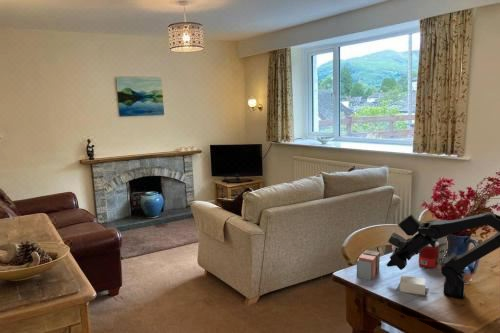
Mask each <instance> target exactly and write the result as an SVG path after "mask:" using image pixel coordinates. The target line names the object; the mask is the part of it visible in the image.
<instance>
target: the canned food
mask: <svg viewBox="0 0 500 333" xmlns="http://www.w3.org/2000/svg"><path fill="white" fill-rule="evenodd" d="M438 258H439V243H438V242H437V241H436V246H435V248H433V247H432V246H431V245H430V244H429V245H428V246H426V247H425V248H424V249H422V250H421V251H420V252H419V253H418V265H419V266H420V267H421V268H422V269H423V268H424V269H428V270H434V269H437V268H438V266H439V259H438Z"/></svg>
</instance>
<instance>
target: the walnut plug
mask: <svg viewBox="0 0 500 333" xmlns="http://www.w3.org/2000/svg"><path fill="white" fill-rule="evenodd" d="M364 251H365V252H364ZM364 251H363V252H362V254H365V255H370V256H376V273H375V275H378V274H379V273H380V260H381V259H380V258H381V257H380V255H381V254H380V252H379V251H374V250H368V249H365V250H364Z"/></svg>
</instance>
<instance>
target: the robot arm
mask: <svg viewBox="0 0 500 333" xmlns="http://www.w3.org/2000/svg"><path fill="white" fill-rule="evenodd" d="M434 220H435V221H432V222H431V223H425V222H419V220H417V219H416V218H415V216H414V215H413V214H412V213H411V214H410V215H407V216H406V217H403V219H402V220H400V221H399V222H398V223H397V224H396V225H397V226H398V227H399V228H400V229H401V231H402V232H403V233H405V235H406V236H409V237H410V238H409V237H408V238H407V239H406V238H404V237H403V236H401V235H400V234H398V233H396V232H392V234H391V235H390V237H389V238H388V241H387V242H388V243H389V244H391V245H393V246H394V247H395V249H394V251H393V252H392V254H391V255H390V257H389V259H390V260H388V262H387V263H386V264H385V265H386V267H388V268H391V267H395V266H396V267H397V268H398V269H399V270H400V271H402V270H403V269H405V268H406V267H407V264H408V261H410V260H411V259H412V258H413V257H414V256H415V255H419V252H420V251H421V250H422V249H424V248H425V247H426V246H428V245H429V244H430V245H431V246H432V247H433V248H435V246H436V240H437V239H440V238H442V237H445V236H447V235H448V236H449V235H450V234H453V233H456V232H459V231H460V232H461V231H467V230H471V229H475V228H481V227H485V226H489V227H491V228H492V229H494V230H495V231H497V232H496V233H495V234H494V235H492V236H491V237H488V238H487V239H485V240H484V241H482V242H481V243H479V244H476V246H474V247H472V248H470V249H469V250H467V251H465V252H464V253H461V254H459V255H456V253H455V252H453V253H451V255H449V256H447V257H445V258H444V260H443V263H442V265H441V267H440V268H441V269H440V272H441V274H442V276H443V277H444V278H445V280H444V281H443V295H444V297H448V298H453V299H458V300H461V301H463V300H464V299H465V295H466V292H465V288H466V287H465V286H466V280H465V276H466V271H464V270H465V269H466V268H467V267H468V266H470V265H471V264H473V263H475V262H477V261H478V260H481V259H482V258H483V257H485V256H487V255H488V254H490V253H492V252H494V251H496V250H498V249H499V248H500V215H499V214H496V213H494V212H493V211H492V212H491V211H487V212H484V213H480V214H475V215H470V216H467V217H462V218H456V219H451V220H448V219H438V220H437V219H434Z"/></svg>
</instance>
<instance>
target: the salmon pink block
mask: <svg viewBox="0 0 500 333" xmlns="http://www.w3.org/2000/svg"><path fill="white" fill-rule="evenodd" d="M358 258H359V260H361V261H366V262H372V265H371V280H374V278H375V277H376V274H375V273H376V256H370V255H365V254H363V253H361V254H360V255H359V256H358Z"/></svg>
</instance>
